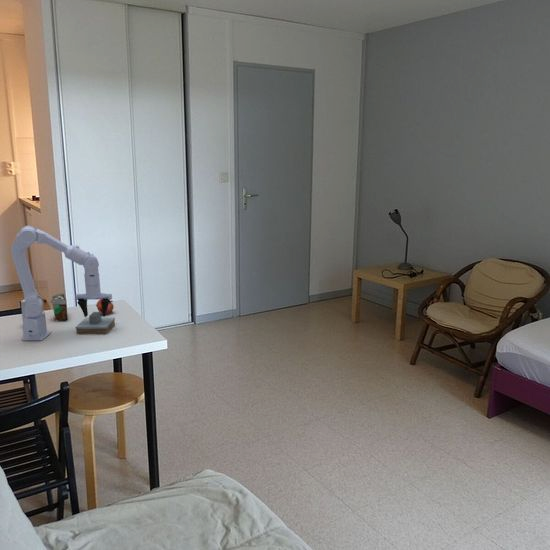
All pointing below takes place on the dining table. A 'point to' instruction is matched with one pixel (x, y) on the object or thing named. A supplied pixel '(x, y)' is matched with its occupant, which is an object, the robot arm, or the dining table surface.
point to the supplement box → (23, 309)
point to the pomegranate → (109, 308)
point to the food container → (59, 307)
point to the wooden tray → (96, 330)
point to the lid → (95, 322)
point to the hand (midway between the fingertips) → (95, 316)
